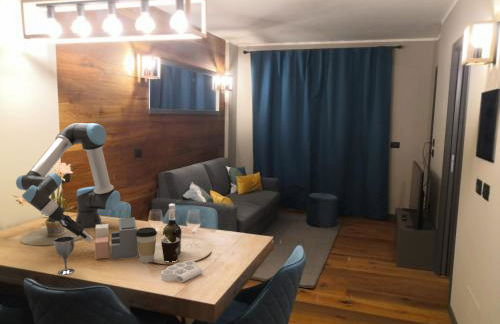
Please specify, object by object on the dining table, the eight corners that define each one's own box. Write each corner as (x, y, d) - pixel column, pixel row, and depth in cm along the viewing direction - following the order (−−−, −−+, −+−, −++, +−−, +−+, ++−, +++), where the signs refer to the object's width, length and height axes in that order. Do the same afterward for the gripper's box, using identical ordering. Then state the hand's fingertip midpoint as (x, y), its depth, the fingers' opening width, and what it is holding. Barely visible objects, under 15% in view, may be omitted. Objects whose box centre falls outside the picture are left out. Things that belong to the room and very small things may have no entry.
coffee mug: (169, 265, 186) (169, 244, 185) (157, 260, 191) (157, 240, 190) (188, 257, 195) (187, 238, 194) (176, 253, 200) (175, 234, 199)
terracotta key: (96, 253, 199) (95, 238, 198) (108, 252, 201) (108, 237, 199) (95, 258, 192) (94, 242, 191) (108, 257, 194) (108, 241, 193)
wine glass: (53, 271, 177) (51, 239, 175) (71, 266, 183) (69, 235, 181) (60, 277, 172) (58, 243, 170) (78, 271, 178) (77, 239, 176)
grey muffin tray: (177, 287, 164) (154, 278, 173) (207, 272, 179) (184, 265, 187) (177, 279, 164) (153, 270, 173) (207, 265, 178) (184, 258, 187)
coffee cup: (150, 255, 198) (150, 225, 196) (161, 260, 191) (161, 230, 189) (132, 260, 191) (131, 229, 189) (143, 266, 185) (142, 234, 183)
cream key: (96, 247, 208) (95, 224, 206) (109, 246, 210) (108, 223, 208) (96, 251, 201) (95, 228, 200) (109, 250, 203) (108, 227, 202)
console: (111, 244, 213) (110, 218, 211) (135, 242, 216) (134, 216, 215) (111, 259, 192) (110, 230, 190) (137, 257, 196) (136, 228, 194)
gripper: (49, 213, 201) (86, 242, 209) (45, 220, 189) (85, 250, 197) (60, 202, 202) (97, 231, 210) (57, 208, 190) (96, 239, 197)
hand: (91, 240), depth 203 cm, fingers closed
